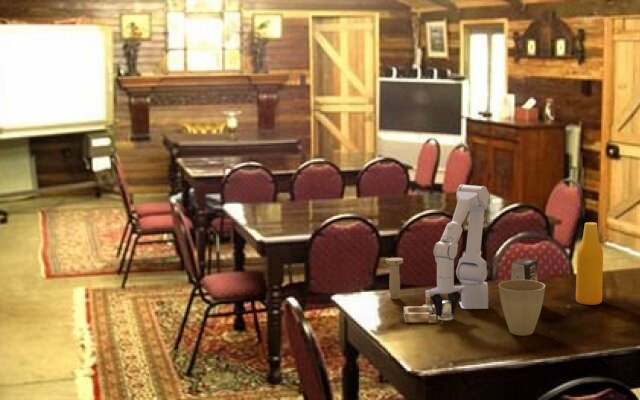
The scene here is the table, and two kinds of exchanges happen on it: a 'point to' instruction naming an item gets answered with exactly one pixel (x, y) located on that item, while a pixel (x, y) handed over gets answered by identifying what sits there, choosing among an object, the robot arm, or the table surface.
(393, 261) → the handle
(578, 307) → the table surface
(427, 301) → the pin
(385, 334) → the table surface
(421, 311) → the dock
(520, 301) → the plant pot
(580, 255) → the beer bottle
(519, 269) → the coffee box
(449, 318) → the silver metal cylinder
